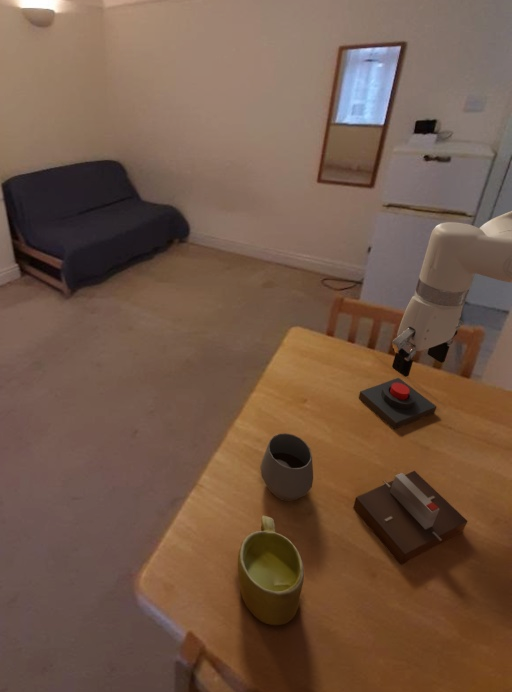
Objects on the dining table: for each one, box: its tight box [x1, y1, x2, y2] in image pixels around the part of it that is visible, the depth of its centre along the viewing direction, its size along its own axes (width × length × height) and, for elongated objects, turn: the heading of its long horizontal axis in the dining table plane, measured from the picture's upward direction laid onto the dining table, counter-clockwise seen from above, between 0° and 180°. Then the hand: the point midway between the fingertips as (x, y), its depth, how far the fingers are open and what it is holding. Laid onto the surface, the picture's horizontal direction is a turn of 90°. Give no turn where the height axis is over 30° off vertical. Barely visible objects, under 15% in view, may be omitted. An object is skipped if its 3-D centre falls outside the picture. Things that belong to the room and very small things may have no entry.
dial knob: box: [390, 472, 439, 530], centre depth 69 cm, size 7×2×5 cm, turn 20°
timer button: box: [390, 383, 410, 400], centre depth 92 cm, size 4×4×2 cm
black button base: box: [358, 377, 437, 431], centre depth 93 cm, size 12×10×4 cm
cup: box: [260, 432, 314, 502], centre depth 75 cm, size 10×9×10 cm
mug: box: [237, 515, 305, 626], centre depth 62 cm, size 12×10×10 cm
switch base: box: [353, 470, 468, 566], centre depth 70 cm, size 14×11×3 cm
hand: (418, 365), depth 80 cm, fingers open, 9 cm apart
